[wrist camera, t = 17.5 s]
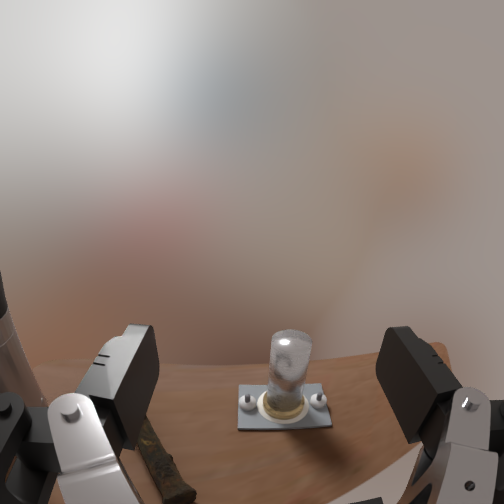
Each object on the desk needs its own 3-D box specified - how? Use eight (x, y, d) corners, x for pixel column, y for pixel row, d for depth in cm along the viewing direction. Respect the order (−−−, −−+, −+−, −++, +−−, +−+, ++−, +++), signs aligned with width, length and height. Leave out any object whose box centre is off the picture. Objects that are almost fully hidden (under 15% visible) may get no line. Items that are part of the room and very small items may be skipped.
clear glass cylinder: (263, 420, 37) (269, 355, 33) (261, 391, 43) (266, 327, 39) (306, 419, 37) (320, 354, 33) (300, 390, 43) (311, 327, 39)
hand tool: (200, 503, 24) (196, 488, 23) (168, 513, 22) (160, 499, 21) (148, 402, 40) (142, 380, 38) (123, 408, 38) (116, 386, 36)
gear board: (237, 429, 36) (237, 418, 35) (239, 386, 44) (239, 375, 43) (331, 426, 36) (335, 415, 35) (320, 385, 45) (322, 373, 44)
